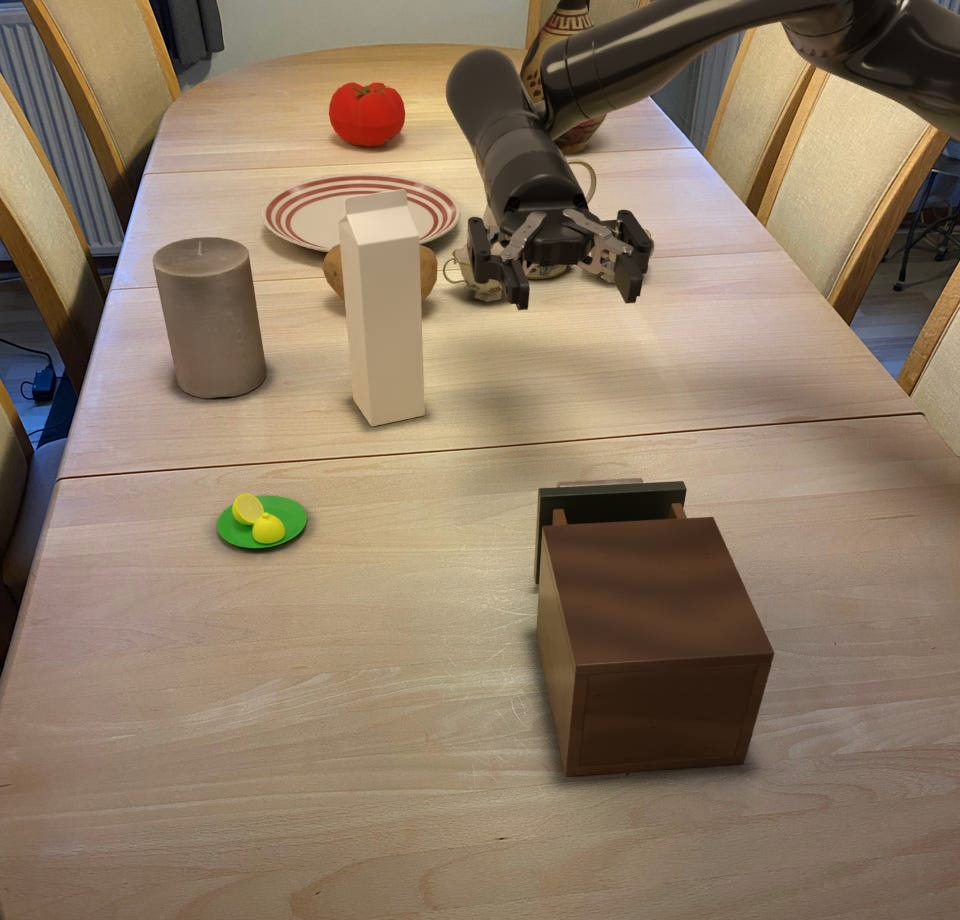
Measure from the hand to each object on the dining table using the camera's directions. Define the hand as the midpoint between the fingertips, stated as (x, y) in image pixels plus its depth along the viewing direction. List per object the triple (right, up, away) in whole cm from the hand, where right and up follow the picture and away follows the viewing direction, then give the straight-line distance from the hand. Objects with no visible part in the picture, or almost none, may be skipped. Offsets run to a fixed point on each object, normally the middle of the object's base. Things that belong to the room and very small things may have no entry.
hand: (579, 296), depth 78 cm
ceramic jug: (+6, +57, +95) cm, 111 cm away
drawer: (+3, -24, +6) cm, 24 cm away
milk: (-17, -2, +31) cm, 35 cm away
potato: (-20, +15, +48) cm, 54 cm away
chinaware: (+1, +21, +56) cm, 60 cm away
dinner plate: (-24, +31, +66) cm, 77 cm away
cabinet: (+4, -30, 0) cm, 30 cm away
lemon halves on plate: (-27, -16, +15) cm, 35 cm away
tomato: (-26, +58, +95) cm, 114 cm away
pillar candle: (-36, +3, +35) cm, 50 cm away
